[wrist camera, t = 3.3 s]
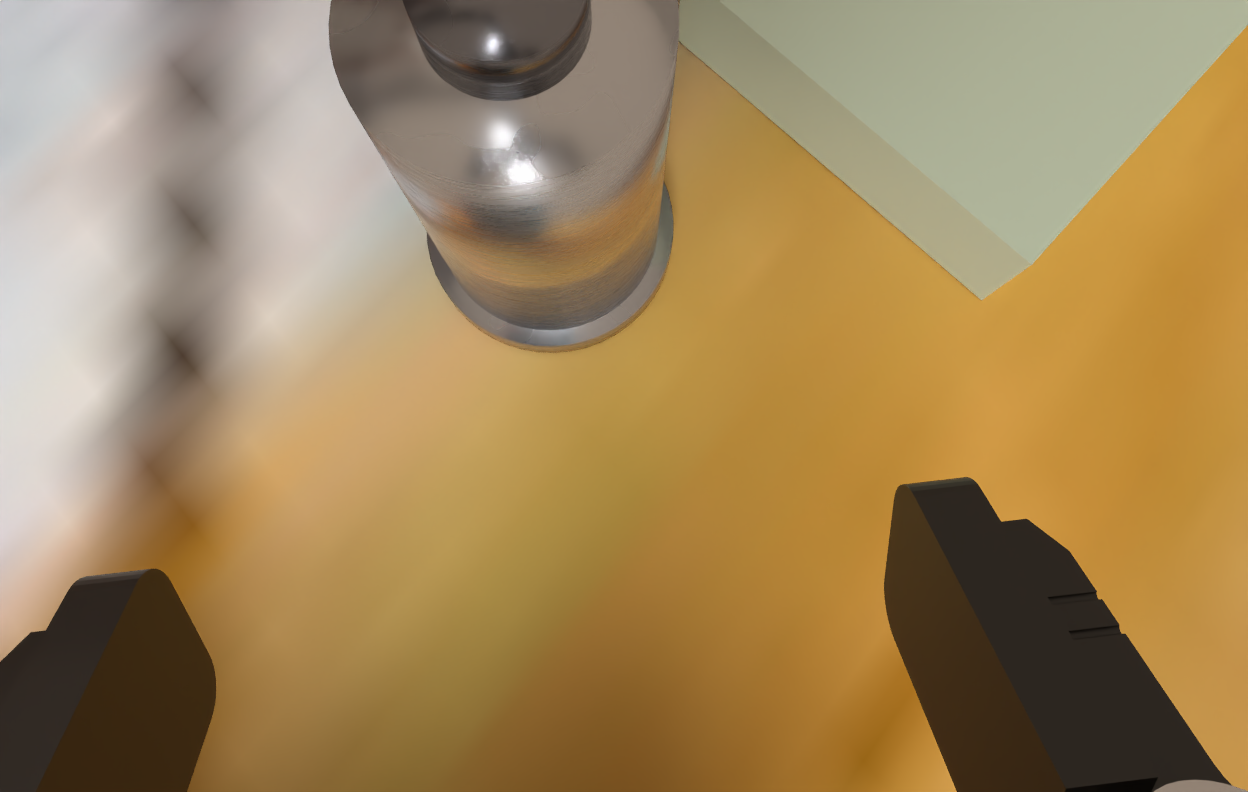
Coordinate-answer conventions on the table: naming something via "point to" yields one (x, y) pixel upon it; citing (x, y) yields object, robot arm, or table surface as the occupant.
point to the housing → (524, 151)
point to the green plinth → (966, 103)
